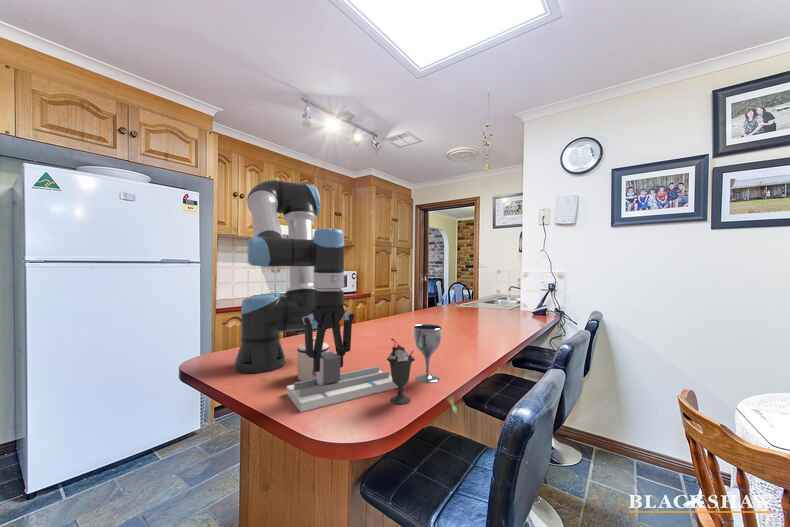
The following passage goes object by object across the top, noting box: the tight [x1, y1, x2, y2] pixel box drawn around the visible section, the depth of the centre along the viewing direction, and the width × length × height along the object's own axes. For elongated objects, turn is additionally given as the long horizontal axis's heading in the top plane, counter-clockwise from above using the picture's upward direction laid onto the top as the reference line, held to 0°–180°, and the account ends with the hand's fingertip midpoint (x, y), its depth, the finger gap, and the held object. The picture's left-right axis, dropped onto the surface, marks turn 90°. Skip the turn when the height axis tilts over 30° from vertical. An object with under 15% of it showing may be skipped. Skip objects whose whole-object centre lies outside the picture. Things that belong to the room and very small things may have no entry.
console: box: [286, 365, 398, 413], centre depth 83 cm, size 12×26×4 cm, turn 123°
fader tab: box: [321, 350, 341, 384], centre depth 80 cm, size 6×4×8 cm, turn 33°
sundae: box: [386, 338, 416, 406], centre depth 77 cm, size 7×7×15 cm
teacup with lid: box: [297, 336, 331, 381], centre depth 94 cm, size 12×9×12 cm
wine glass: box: [413, 323, 442, 384], centre depth 92 cm, size 8×8×15 cm
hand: (328, 381), depth 80 cm, fingers closed on fader tab, 4 cm apart
